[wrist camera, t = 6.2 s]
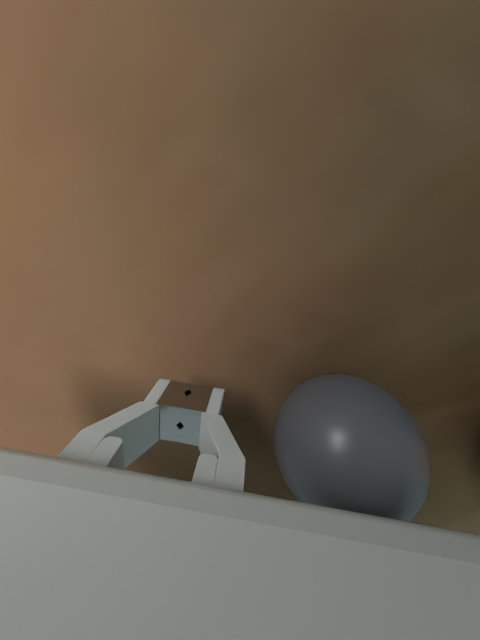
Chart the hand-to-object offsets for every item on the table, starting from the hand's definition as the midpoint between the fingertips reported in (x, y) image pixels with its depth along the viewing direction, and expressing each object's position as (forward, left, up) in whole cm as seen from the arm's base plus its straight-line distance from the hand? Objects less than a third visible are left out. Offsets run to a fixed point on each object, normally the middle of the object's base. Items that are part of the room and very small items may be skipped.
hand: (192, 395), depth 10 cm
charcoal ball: (+5, +4, +1) cm, 7 cm away
